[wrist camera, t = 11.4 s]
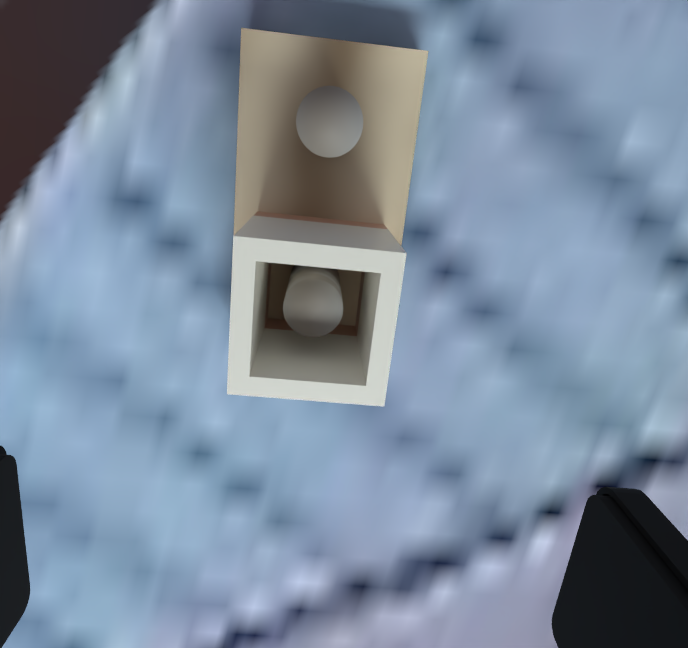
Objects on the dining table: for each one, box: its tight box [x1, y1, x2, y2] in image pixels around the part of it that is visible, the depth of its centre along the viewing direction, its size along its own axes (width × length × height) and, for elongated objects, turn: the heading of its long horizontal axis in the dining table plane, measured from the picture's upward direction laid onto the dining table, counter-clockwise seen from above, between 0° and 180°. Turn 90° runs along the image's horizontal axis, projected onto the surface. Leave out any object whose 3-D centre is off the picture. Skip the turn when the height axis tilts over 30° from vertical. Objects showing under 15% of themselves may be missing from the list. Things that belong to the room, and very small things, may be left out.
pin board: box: [234, 28, 428, 337], centre depth 23 cm, size 8×14×7 cm, turn 174°
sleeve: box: [227, 211, 406, 406], centre depth 22 cm, size 6×6×7 cm
